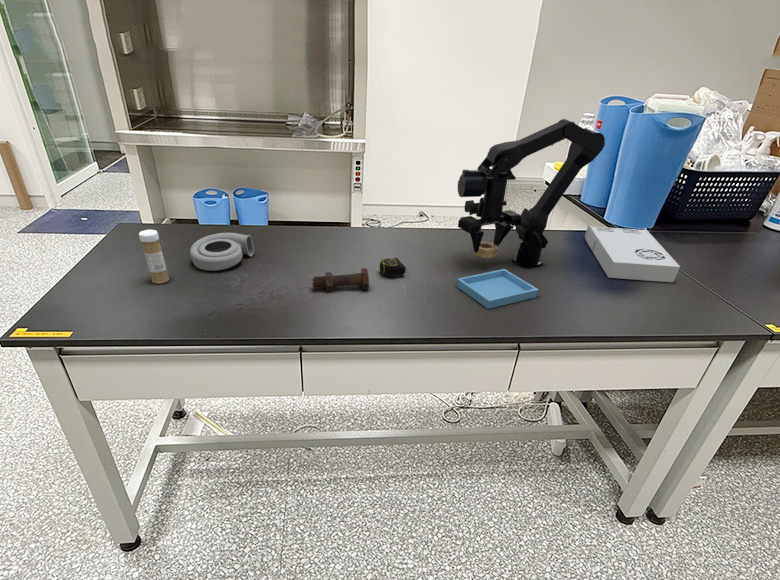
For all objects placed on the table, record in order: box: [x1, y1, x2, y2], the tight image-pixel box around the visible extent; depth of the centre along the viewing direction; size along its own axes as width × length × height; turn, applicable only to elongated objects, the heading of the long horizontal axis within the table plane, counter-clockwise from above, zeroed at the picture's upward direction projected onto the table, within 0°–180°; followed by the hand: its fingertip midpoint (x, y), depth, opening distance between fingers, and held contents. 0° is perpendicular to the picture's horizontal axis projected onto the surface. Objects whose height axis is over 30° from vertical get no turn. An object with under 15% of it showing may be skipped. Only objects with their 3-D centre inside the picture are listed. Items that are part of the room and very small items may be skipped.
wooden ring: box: [472, 240, 499, 259], centre depth 148 cm, size 7×7×2 cm
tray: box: [455, 268, 539, 310], centre depth 137 cm, size 17×15×2 cm
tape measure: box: [379, 257, 407, 277], centre depth 143 cm, size 7×7×4 cm
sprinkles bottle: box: [138, 229, 170, 285], centre depth 132 cm, size 5×5×14 cm
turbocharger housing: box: [189, 232, 255, 272], centre depth 146 cm, size 17×6×15 cm
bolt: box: [311, 267, 370, 292], centre depth 134 cm, size 6×5×15 cm
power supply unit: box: [584, 224, 681, 283], centre depth 158 cm, size 19×33×5 cm, turn 174°
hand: (485, 250), depth 149 cm, fingers closed on wooden ring, 7 cm apart
